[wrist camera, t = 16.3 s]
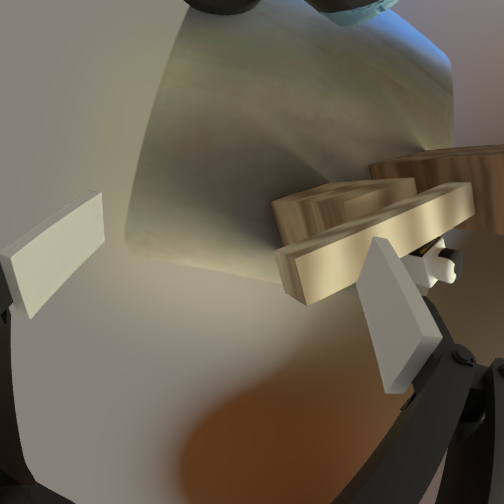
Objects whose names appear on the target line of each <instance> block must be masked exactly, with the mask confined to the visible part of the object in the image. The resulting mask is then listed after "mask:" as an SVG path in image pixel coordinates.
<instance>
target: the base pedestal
mask: <svg viewBox="0 0 504 504" xmlns="http://www.w3.org/2000/svg"><path fill="white" fill-rule="evenodd" d="M414 195H417V190H416V185H415V180H414V178H394V179H375V180H359V181H345V182H332V183H328V184H324V185H321V186H318V187H315V188H311V189H308V190H305V191H302V192H299V193H295V194H292V195H289V196H286V197H283V198H280V199H277V200H274V201H271V206H272V209H273V213H274V216H275V220H276V223H277V227H278V230H279V234H280V238H281V241H282V245H283V247H285V246H288V245H290V244H293V243H295V242H298V241H300V240H303V239H305V238H308V237H311V236H313V235H316V234H318V233H321V232H323V231H326V230H328V229H331V228H333V227H336V226H339V225H341V224H344V223H346V222H349V221H351V220H354V219H356V218H359V217H361V216H364V215H366V214H369V213H371V212H374V211H376V210H379V209H382V208H384V207H387V206H389V205H392V204H394V203H397V202H399V201H402V200H404V199H407V198H409V197H412V196H414Z"/></svg>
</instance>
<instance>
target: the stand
mask: <svg viewBox="0 0 504 504" xmlns="http://www.w3.org/2000/svg"><path fill="white" fill-rule="evenodd" d="M369 169H370V173H371V177H372V180H375V179H394V178H414V180H415V185H416V190H417V194H419V193H422V192H424V191H427V190H429V189H432V188H434V187H437V186H439V185H442V184H444V183H447V182H471V185H472V192H473V200H474V209H475V214H474V215H473V216H471V217H469V218H468V219H466V220H465V221H463V222H461V223H460V224H458V225H456V226H455V227H453V228H458V229H465V230H473V231H480V232H487V233H493V234H500V235H504V144H501V145H485V146H471V147H459V148H447V149H437V150H428V151H423V152H419V153H415V154H411V155H407V156H403V157H399V158H395V159H391V160H387V161H383V162H380V163H376V164H372V165H369Z"/></svg>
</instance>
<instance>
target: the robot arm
mask: <svg viewBox="0 0 504 504" xmlns="http://www.w3.org/2000/svg"><path fill="white" fill-rule="evenodd" d="M184 1H185V2H186V3H188V4H189V5H191V6H192V7H194V8H196V9H198V10H201V11H204V12H207V13H211V14H217V15H235V14H240V13H244V12H246V11H249V10H251V9H252V8H254V7H255V6H256V5H257V4H258V3H259V2H260V0H184ZM304 1H306V2H307V3H308V4H310V5H311V6H312V7H313V8H315V9H316V10H317V11H318V12H319V13H320V14H323V15H325V16H326V17H327V18H329V19H330V20H331V21H333V22H334V23H336V24H337V25H340V26H344V27H350V26H355V25H358V24H361V23H364V22H366V21H368V20H370V19H372V18H374V17H376V16H378V15H379V14H380V13H381V12H383V11H385V10H387V9H389V8H390V7H392V6H393V5H394V4H395V3H397V2H398V1H399V0H304ZM102 211H103V210H102V193H101V192H96V191H88V192H87V193H85V194H83V195H82V196H80V197H79V198H77V199H75V200H74V201H72V202H70V203H69V204H67V205H66V206H64V207H63V208H61V209H59V210H58V211H57V212H55V213H54V214H52V215H51V216H49V217H48V218H46V219H45V220H43V221H42V222H40V223H39V224H37V225H36V226H35V227H33V228H32V229H30V230H29V231H27V232H26V233H25V234H24V235H22V236H21V237H19V238H18V239H17V240H15V241H14V242H13V243H11V244H10V245H9V246H8V247H6V248H5V249H3V250H2V251H1V252H0V504H75V503H74V502H72V501H71V500H69V499H67V498H65V497H63V496H61V495H59V494H57V493H55V492H53V491H52V490H50V489H48V488H46V487H44V486H43V485H41V484H39V483H37V482H36V481H35V479H34V477H33V475H32V474H31V472H30V470H29V469H28V467H27V465H26V463H25V460H24V456H23V452H22V447H21V442H20V437H19V431H18V426H17V419H16V412H15V404H14V396H13V385H12V370H11V342H10V341H11V340H10V338H11V337H10V336H11V335H10V334H11V313H10V310H9V306H10V305H11V304H12V303H14V306H15V309H16V311H17V314H18V315H20V316H22V317H25V318H27V319H29V320H30V319H31V318H32V317H33V316H34V315H35V314H36V312H37V311H38V310H39V309H40V308H41V307H42V306H43V304H44V303H45V302H46V301H47V300H48V299H49V298H50V297H51V296H52V295H53V293H54V292H55V291H56V290H57V289H58V288H59V287H60V286H61V285H62V284H63V283H64V282H65V281H66V280H67V279H68V278H69V276H71V274H72V273H73V272H74V271H75V270H76V269H77V268H78V267H79V266H80V265H81V264H82V263H83V262H84V261H85V260H86V259H87V258H88V257H89V256H90V255H91V254H92V253H93V252H94V251H96V250H97V248H99V247H100V246H101V245H102V244H103V243H104V242H105V236H104V225H103V212H102ZM356 287H357V290H358V294H359V297H360V300H361V303H362V307H363V310H364V314H365V317H366V320H367V324H368V327H369V331H370V335H371V338H372V342H373V346H374V349H375V353H376V357H377V361H378V365H379V369H380V373H381V377H382V381H383V386H384V390H385V393H388V394H397V393H398V394H403V393H405V391H406V390H407V389H408V387H409V386H410V385H411V383H412V384H413V387H414V391H415V392H414V393H413V394H412V395H411V397H410V398H409V399H408V400H407V402H406V403H405V404H404V405H403V406H402V408H401V409H400V410H401V413H400V414H399V416H398V417H397V419H396V420H395V422H394V423H393V425H392V426H391V428H390V429H389V431H388V432H387V434H386V435H385V437H384V438H383V439H382V441H381V442H380V444H379V445H378V446H377V448H376V449H375V450H374V452H373V453H372V454H371V456H370V457H369V458H368V460H367V461H366V462H365V463H364V465H363V466H362V467H361V469H360V470H359V471H358V472H357V474H356V475H355V476H354V477H353V478H352V480H351V481H350V482H349V483H348V484H347V485H346V487H345V488H344V489H343V490H342V491H341V492H340V493H339V495H338V496H337V497H336V498H335V499H334V500H333V501H332V502H331V503H330V504H419V502H420V500H421V499H422V497H423V495H424V493H425V492H426V490H427V488H428V486H429V484H430V483H431V481H432V479H433V477H434V475H435V473H436V471H437V469H438V467H439V465H440V462H441V461H442V459H443V457H444V454H445V452H446V450H447V448H448V450H447V455H446V460H445V466H444V470H443V475H442V479H441V483H440V487H439V491H438V495H437V498H436V502H435V504H504V359H502V358H496V359H495V360H494V361H493V362H492V364H491V365H490V366H489V367H486V366H483V365H479V364H476V360H475V357H474V355H473V354H472V353H471V352H470V351H469V350H468V349H467V348H466V347H464V346H462V345H460V344H455V343H454V341H453V339H452V337H451V335H450V333H449V331H448V330H447V328H446V326H445V324H444V322H442V318H441V316H440V315H439V313H438V311H437V309H436V307H435V305H434V304H433V303H432V302H431V301H430V300H429V299H428V298H427V297H426V296H421V294H420V293H419V291H418V289H417V287H416V286H415V284H414V282H413V280H412V279H411V277H410V275H409V273H408V272H407V270H406V268H405V267H404V265H403V263H402V262H401V260H400V258H399V257H398V255H397V253H396V252H395V250H394V248H393V247H392V245H391V244H390V242H389V240H388V239H386V238H381V237H376V236H373V237H372V241H371V244H370V247H369V250H368V253H367V255H366V258H365V261H364V264H363V267H362V270H361V272H360V275H359V278H358V281H357V283H356Z"/></svg>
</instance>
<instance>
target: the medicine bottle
mask: <svg viewBox="0 0 504 504" xmlns="http://www.w3.org/2000/svg"><path fill="white" fill-rule="evenodd" d="M400 260H401V262H402V263H403V265H404V267H405V268H406V270H407V272H408V273H409V275H410V277H411V279H412V280H413V282H414V283H417V284H420V285H423V286H426V287H430V288H431V287H432V286H433V285H434V284H435V282H436V281H437V280H441V281H445V282H448V283H454V282H455V281H456V280H457V279H458V278H459V276H460V274H461V271H462V267H463V259H462V255H461V253H460V252H459V251H458V250H454V249H448V248H445V245H444V241H443V238H442V237H437V238H435V239H433V240H431V241H430V242H428V243H426V244H425V245H423V246H421V247H419V248H418V249H416V250H414V251H412V252H411V253H409V254H407V255H405V256H403V257H402V258H400Z"/></svg>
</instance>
